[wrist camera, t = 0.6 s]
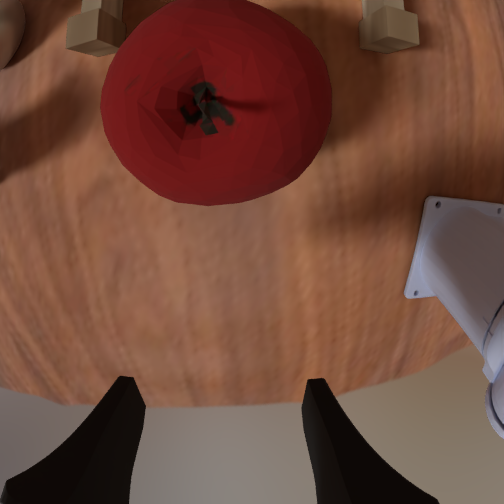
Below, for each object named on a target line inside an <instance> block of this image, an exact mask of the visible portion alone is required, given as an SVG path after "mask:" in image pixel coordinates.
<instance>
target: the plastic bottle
mask: <svg viewBox="0 0 504 504" xmlns="http://www.w3.org/2000/svg"><path fill="white" fill-rule="evenodd" d="M25 23H26V19H25V12H24V8H23V5H22V4H21V2H20V1H18V0H0V70H1V69H3V68H4V67H5V66H6V65H7V64H8V62H9V61H10V60H11V58H12V57H13V56H14V54H15V52H16V51H17V49H18V47H19V44H20V42H21V40H22V37H23V34H24V30H25Z"/></svg>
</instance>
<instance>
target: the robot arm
mask: <svg viewBox="0 0 504 504" xmlns="http://www.w3.org/2000/svg"><path fill="white" fill-rule="evenodd" d="M437 202H438V205H437V206H436V203H437ZM416 290H417V291H416ZM415 291H416V292H415ZM414 292H415V293H414ZM404 295H405V296H406V298H409V299H410V298H421V297H431V296H437V298H438V299H439V300H440V301H441V302H442V304H443V305H444V306H445V307H446V309H447V310H448V311H449V312H450V313H451V315H452V316H453V317H454V319H455V320H456V321H457V322H458V324H459V325H460V326H461V328H462V329H463V330H464V331H465V333H466V334H467V335H468V337H469V338H470V339H471V341H472V342H473V343H474V345H475V346H476V348H477V349H478V350H479V351H480V353H481V354H482V356H483V357H484V359H485V365H484V367H483V370H482V371H483V372H484V374H485V375H486V377H487V379H488V380H489V382H490V383H489V385H488V388H487V390H486V395H485V407H486V413H487V416H488V419H489V421H490V423H491V425H492V426H493V428H494V430H495V431H496V432H497V433H498V434H499V436H501V437H502V438H503V439H504V204H499V203H491V202H484V201H476V200H467V199H458V198H448V197H438V196H429V197H427V199H426V200H425V203H424V209H423V215H422V220H421V225H420V230H419V234H418V239H417V244H416V248H415V252H414V256H413V260H412V264H411V268H410V272H409V276H408V280H407V283H406V287H405V290H404ZM145 409H146V405H145V403H144V401H143V399H142V396H141V394H140V392H139V389H138V387H137V385H136V382H135V380H134V378H133V377H126V376H119V377H118V378H117V380H116V381H115V382H114V384H113V385H112V386H111V388H110V389H109V390H108V392H107V393H106V394H105V395H104V397H103V398H102V399H101V401H100V402H99V403H98V404H97V406H96V407H95V408H94V409H93V411H92V412H91V413H90V414H89V416H88V417H87V418H86V419H85V420H84V421H83V423H82V424H81V425H80V426H79V427H78V428H77V429H76V430H75V432H73V433H72V435H71V436H70V437H69V438H67V439H66V440H65V441H64V442H63V443H62V444H61V445H60V446H59V447H58V448H57V449H55V450H54V451H53V452H52V453H51V454H50V455H48V456H47V457H46V458H44V459H43V460H41V461H40V462H38V463H37V464H35V465H34V466H32V467H31V468H29V469H27V470H26V471H24V472H22V473H20V474H18V475H16V476H14V477H12V478H10V479H8V480H7V481H6V483H5V486H4V489H3V492H2V495H1V498H0V503H1V504H129V494H130V484H131V476H132V471H133V466H134V462H135V458H136V454H137V450H138V446H139V442H140V438H141V434H142V430H143V425H144V416H145ZM302 418H303V427H304V433H305V438H306V442H307V446H308V451H309V455H310V460H311V464H312V469H313V473H314V478H315V485H316V495H317V504H439V502H438V500H437V499H436V498H434V497H433V496H431V495H429V494H427V493H425V492H424V491H422V490H421V489H419V488H418V487H416V486H415V485H414V484H412V483H411V482H409V481H408V480H407V479H405V478H404V477H403V476H402V475H401V474H399V473H398V472H397V471H396V470H395V469H393V468H392V467H391V466H390V465H389V464H388V463H387V462H386V461H385V460H383V459H382V458H381V457H380V456H379V455H378V454H377V452H376V451H375V450H374V449H373V448H372V447H371V446H370V445H369V444H368V443H367V442H366V440H365V439H364V438H363V436H362V435H361V434H360V433H359V432H358V430H357V429H356V428H355V426H354V425H353V424H352V422H351V421H350V419H349V418H348V417H347V415H346V414H345V412H344V411H343V409H342V408H341V406H340V405H339V403H338V401H337V400H336V398H335V396H334V395H333V393H332V391H331V390H330V388H329V386H328V384H327V382H326V380H325V379H324V378H318V379H308V380H307V385H306V390H305V394H304V399H303V404H302Z"/></svg>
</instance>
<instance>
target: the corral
mask: <svg viewBox="0 0 504 504" xmlns="http://www.w3.org/2000/svg"><path fill="white" fill-rule="evenodd" d="M362 8H363V20H361V21H360V22H359V43H360V49H366V50H371V51H376V52H380V53H385V54H389V53H392V52H395V51H399V50H402V49H406V48H410V47H413V46H417V45H419V31H418V18H417V14H414V13H411V12H408V11H405V10H404V3H403V0H362ZM122 9H123V0H82V8H81V14H78V15H75V16H72V17H70V18H68V24H67V36H66V49H69V50H73V51H77V52H81V53H85V54H89V55H92V56H96V57H100V56H104V55H108V54H113V53H117V51H118V49H119V48H120V46H121V45H122V44H123V42H124V41H125V36H126V24H124V23H123V22H122Z"/></svg>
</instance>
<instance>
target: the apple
mask: <svg viewBox="0 0 504 504" xmlns="http://www.w3.org/2000/svg"><path fill="white" fill-rule="evenodd" d="M100 109H101V115H102V120H103V126H104V131H105V134H106V136H107V139H108V141H109V143H110V145H111V147H112V149H113V150H114V152H115V153H116V155H117V157H118V158H119V160H120V161H121V163H122V165H123V166H124V167H125V168H126V169H127V170H128V171H129V172H130V173H132V174H133V175H134V176H135V177H136V178H137V179H138V180H139V181H140V182H141V183H143V184H144V185H145V186H147V187H148V188H149V189H151V190H152V191H154V192H155V193H157V194H158V195H160V196H162V197H165V198H167V199H170V200H172V201H174V202H178V203H187V204H196V205H204V206H212V205H223V204H235V203H241V202H245V201H249V200H253V199H256V198H258V197H261V196H264V195H267V194H270V193H272V192H274V191H276V190H278V189H280V188H283V187H285V186H287V185H288V184H290V183H291V182H293V181H294V180H296V179H297V178H298V177H299V176H300V175H301V174H302V173H303V172H304V171H305V169H306V168H307V167H308V166H309V165H310V164H311V163H312V161H313V160H314V158H315V156H316V155H317V153H318V151H319V150H320V148H321V146H322V144H323V141H324V139H325V136H326V133H327V130H328V127H329V123H330V120H331V114H332V88H331V84H330V79H329V75H328V71H327V67H326V64H325V62H324V60H323V58H322V56H321V54H320V52H319V51H318V50H317V48H316V47H315V45H314V44H313V43H312V41H311V40H310V39H309V38H308V37H307V36H306V35H305V34H303V33H302V32H301V31H300V30H299V29H298V28H296V27H295V26H294V25H293V24H291V23H290V22H288V21H287V20H285V19H284V18H282V17H280V16H279V15H277V14H275V13H274V12H272V11H270V10H269V9H267V8H264V7H262V6H260V5H258V4H255V3H252V2H250V1H247V0H176V1H173V2H171V3H168V4H166V5H165V6H163V7H162V8H160V9H159V10H157V11H156V12H155V13H153V14H152V15H150V16H149V17H147V18H146V19H145V20H143V21H142V22H141V23H140V24H139V25H138V26H137V27H136V28H135V29H134V31H133V32H132V33H131V34H130V35H129V36H128V38H127V39H126V40H125V41H124V42H123V44H122V45H121V46H120V48H119V49H118V51H117V53H116V55H115V57H114V59H113V61H112V63H111V64H110V67H109V70H108V73H107V76H106V79H105V82H104V85H103V89H102V95H101V105H100Z"/></svg>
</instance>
